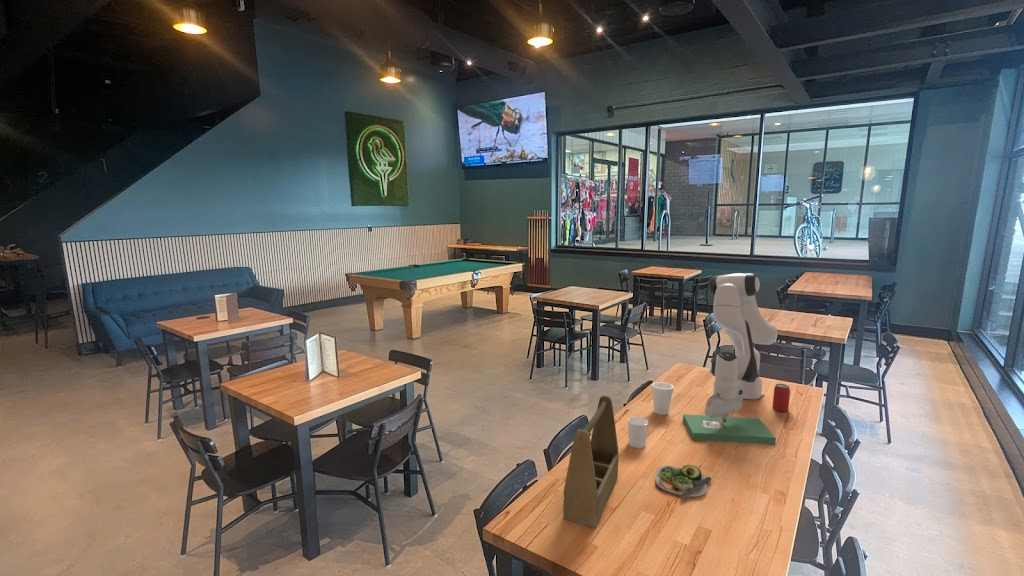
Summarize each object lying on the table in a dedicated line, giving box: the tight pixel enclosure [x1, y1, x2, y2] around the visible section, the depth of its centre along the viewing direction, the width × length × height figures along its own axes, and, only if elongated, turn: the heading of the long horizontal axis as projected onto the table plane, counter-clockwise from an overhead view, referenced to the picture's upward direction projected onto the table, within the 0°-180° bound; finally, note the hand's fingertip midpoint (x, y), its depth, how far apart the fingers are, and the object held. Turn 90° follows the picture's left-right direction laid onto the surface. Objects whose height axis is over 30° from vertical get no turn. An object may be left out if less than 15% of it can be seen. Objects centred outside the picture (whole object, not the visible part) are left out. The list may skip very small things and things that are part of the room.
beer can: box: [772, 383, 791, 413], centre depth 222 cm, size 7×7×12 cm
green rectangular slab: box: [682, 413, 777, 445], centre depth 201 cm, size 18×32×3 cm, turn 82°
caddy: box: [562, 395, 620, 529], centre depth 152 cm, size 29×11×30 cm, turn 155°
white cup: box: [627, 416, 649, 449], centre depth 190 cm, size 8×8×10 cm
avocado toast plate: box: [655, 464, 712, 500], centre depth 161 cm, size 19×18×5 cm
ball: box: [709, 422, 719, 427], centre depth 201 cm, size 4×4×4 cm
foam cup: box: [651, 381, 674, 416], centre depth 220 cm, size 10×9×13 cm
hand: (722, 422), depth 200 cm, fingers closed
